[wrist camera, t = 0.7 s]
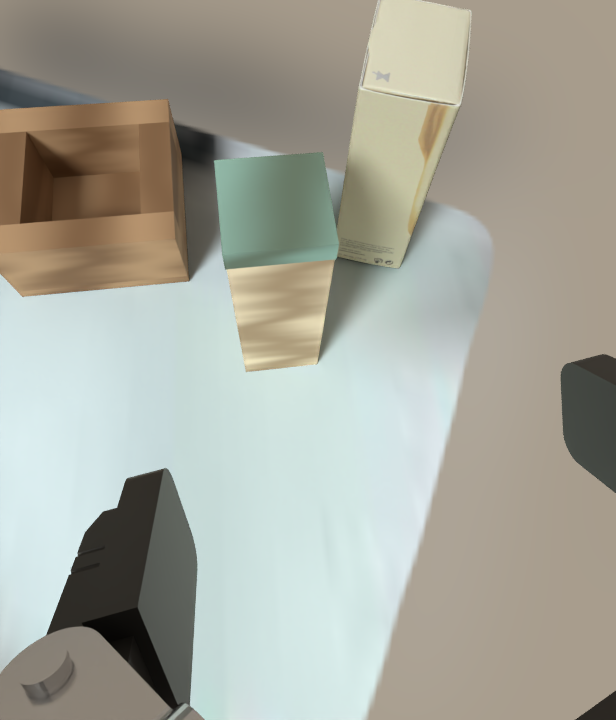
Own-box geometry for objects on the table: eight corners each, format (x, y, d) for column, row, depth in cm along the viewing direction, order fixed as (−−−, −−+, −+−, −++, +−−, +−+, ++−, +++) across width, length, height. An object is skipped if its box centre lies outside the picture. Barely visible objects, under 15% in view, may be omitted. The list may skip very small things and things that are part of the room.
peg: (245, 372, 30) (222, 254, 19) (238, 307, 31) (214, 160, 20) (318, 364, 30) (339, 244, 19) (308, 300, 32) (322, 152, 20)
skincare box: (400, 272, 33) (463, 113, 21) (330, 258, 33) (355, 93, 21) (413, 188, 35) (477, 4, 24) (348, 175, 35) (379, -14, 24)
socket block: (22, 296, 31) (-18, 255, 27) (30, 164, 34) (-4, 110, 30) (189, 281, 32) (175, 238, 28) (181, 154, 35) (167, 99, 31)
